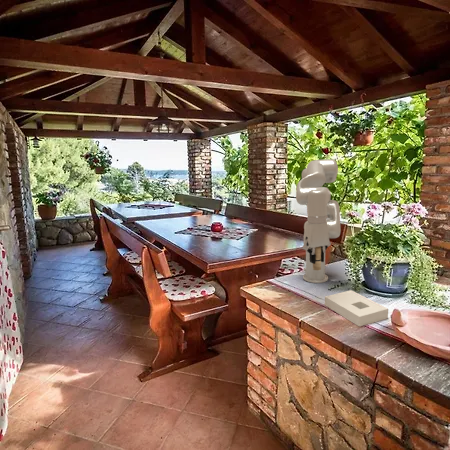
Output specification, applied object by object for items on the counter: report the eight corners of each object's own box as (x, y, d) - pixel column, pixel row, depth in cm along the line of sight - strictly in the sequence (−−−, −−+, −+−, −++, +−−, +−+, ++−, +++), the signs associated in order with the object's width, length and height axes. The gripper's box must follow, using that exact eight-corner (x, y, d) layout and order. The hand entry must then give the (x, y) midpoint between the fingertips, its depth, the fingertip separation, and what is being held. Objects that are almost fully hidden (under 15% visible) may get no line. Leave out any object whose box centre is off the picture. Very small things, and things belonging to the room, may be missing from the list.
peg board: (324, 305, 138) (324, 296, 137) (350, 298, 143) (351, 290, 142) (359, 326, 120) (359, 316, 119) (387, 318, 125) (388, 308, 124)
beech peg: (310, 268, 138) (310, 246, 136) (317, 267, 139) (317, 244, 137) (315, 270, 135) (315, 248, 133) (322, 269, 136) (323, 246, 134)
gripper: (327, 216, 139) (327, 256, 143) (294, 220, 133) (295, 262, 137) (339, 218, 132) (338, 261, 136) (305, 223, 126) (305, 268, 130)
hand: (316, 261), depth 136 cm, fingers closed on beech peg, 3 cm apart
